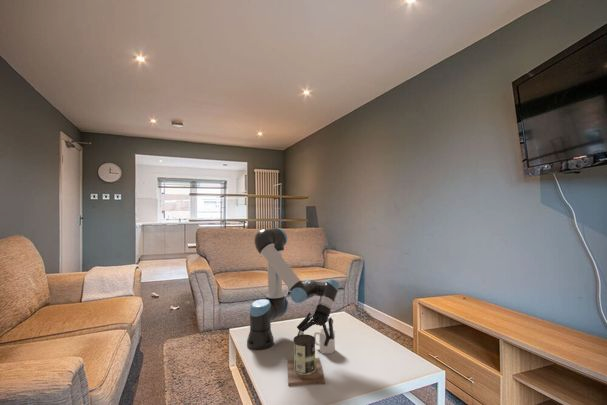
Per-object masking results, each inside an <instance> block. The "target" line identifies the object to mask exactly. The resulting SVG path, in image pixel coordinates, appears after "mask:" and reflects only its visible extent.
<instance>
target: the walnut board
mask: <svg viewBox="0 0 607 405" xmlns="http://www.w3.org/2000/svg"><path fill="white" fill-rule="evenodd" d="M286 360H287V384H288V385H287V386H306V385H325V384H326V380H325V376H324V372H323V369H322V367H323V366H322V364H321V360H320V357H315V368H316V370H315V372H314V373H312V374H309V375H300V374H297V373H296V372H295V371H294V358H287V359H286Z"/></svg>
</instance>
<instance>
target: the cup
mask: <svg viewBox="0 0 607 405" xmlns="http://www.w3.org/2000/svg"><path fill="white" fill-rule="evenodd" d="M326 328H327V330H328V333H329V336H330V332H329V327H326ZM333 333H334V339H333V340H332V339H330V340H329V343H328V346H326V347H325V349H324V352H323V354H326V355H329V354H333V353H335V351H336V341H335V340H336V338H335V337H336V336H335V335H336V334H335V333H336V332H335V330H334V329H333ZM317 335H318V337H319V341H317V339H316V338H317ZM313 336H314V337H315V346H316V345H317V346H319V349H320V348H321V345H322V342H323V339H324V337H326V335H325V332H324V329H323V328H321V329H320V330H319V331H316V332H315V331H314V334H313Z"/></svg>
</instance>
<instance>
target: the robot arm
mask: <svg viewBox="0 0 607 405" xmlns="http://www.w3.org/2000/svg"><path fill="white" fill-rule="evenodd" d="M253 240H254V246H255V249H256V250H257V252H258V253H259V254H260V256H262V257H264V258H265V260H266V261H267V290H268V291H267V293H266V294H265V298H264V299H263V298H262V299H258V300H257V299H256V300H255V301H253V302H252V303H251V304H250V308H249V332H248V337H247V340H246V346H247V347H248V348H249V349H251V350H254V351H255V350H257V351H259V350H262V351H263V350H266V349H269V348H271V347H272V346H274V343H275V340H274V339H275V338H274V335H273V331H272V330H271V329H272V328H271V327H272V326H271V325H272V324H271V322H272V321H274V320H277V319H279V318H281V317H282V316H284V315H285V314H286V313H288V310H289V300H288V299H287V297H286V295H285V293H284V292H283V283H284V284H285V286H286V287H287V288H288V289H289V291H290V297H291V298H290V299H291V300H292V301H293V302H294V303H295V304H300V303H303V302H305V301H307V300H308V299H311V298H313V297H315V296H317V297H319V299H318V302H317V305H316V307H315V310H314V313H313V314H312V313H311V312H308V313H307V315H306V316H305V317H304V319H303V320H302V321H301V322H300V323H299V324H298V325H297V326H296V328H297V330H298V332H297V335H296V336H298V335H303V334H305V333H304V332H305V331H307V330H308V329H309V328H311V327H312V326H320V327H322V329H324V332H325V335H326V337H324V339H323V342H322V345H321V348H319V352H320V353H321V354H324V353H323V352H324V349H325V347H326V346H328V343H329V340H330V339H332V340H333V339H334V333H333V330H334V325H333V324H334V319H333V318H332V317H330V314H331V310H332V309H333V306H334V303H335V299H336V297H337V294H338V292H339V287H340V283H339V282H338V281H337V279H334V278H328V279H327V280H326V281H325V282H321V281H316V280H313V279H311V280H310V279H307V280H305V282H304V283H303V281H302V280H301V279H300V278H299V276H298V275H297V274H296V273H295V272H294V270H293V269H292V268H291V267H290V265H289V264H288V263H287V261H286V260H285V258H283V257H282V255H283V254H282V253H283V252H284V251H285V247H284V246H286V244H287V242H288V235H287V233H286V231H285V230H284V229H283V228H280V227H279V228H278V227H277V228H276V227H272V228H264V229H263V228H262V229H261V230H259V231H257V233H256V234H255V236H254V239H253ZM326 323H328V327H327V325H326ZM327 328H329V332H330V336H329V333H328V330H327Z"/></svg>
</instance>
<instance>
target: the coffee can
mask: <svg viewBox="0 0 607 405" xmlns="http://www.w3.org/2000/svg"><path fill="white" fill-rule="evenodd" d="M297 335H298V334H297ZM297 335H296V336H294V337H293V339H292V340H293V359H294V371H295V372H296V373H297V374H300V375H309V374H312V373H314V372H315V370H316V368H315V358H316V344H315V337H314V335H311V334H305V333H304V334H303V335H298V336H297Z"/></svg>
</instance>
